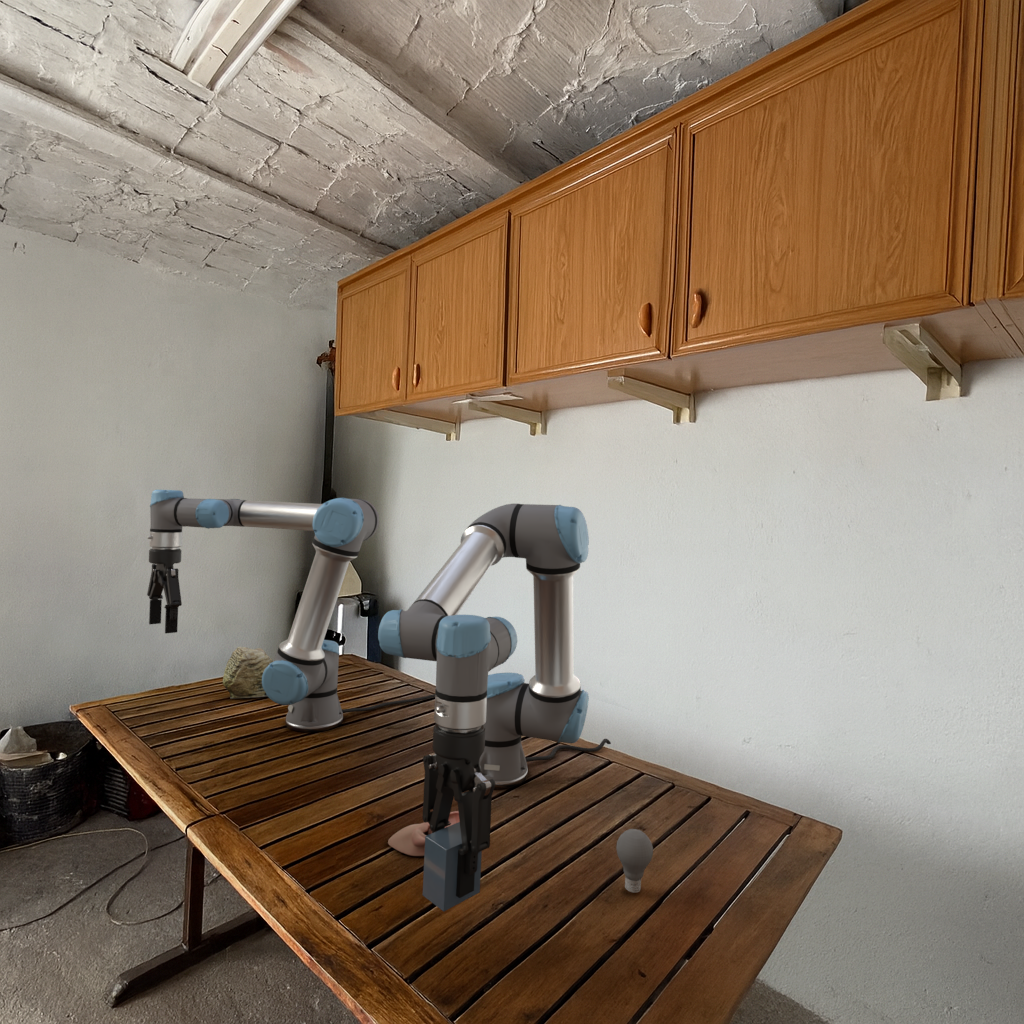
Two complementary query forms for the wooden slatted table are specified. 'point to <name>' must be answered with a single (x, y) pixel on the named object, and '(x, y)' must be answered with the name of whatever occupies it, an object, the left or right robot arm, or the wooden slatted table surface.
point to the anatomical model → (416, 837)
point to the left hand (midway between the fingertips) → (162, 628)
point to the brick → (445, 868)
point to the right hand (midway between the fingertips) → (452, 883)
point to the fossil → (246, 673)
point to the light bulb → (634, 857)
